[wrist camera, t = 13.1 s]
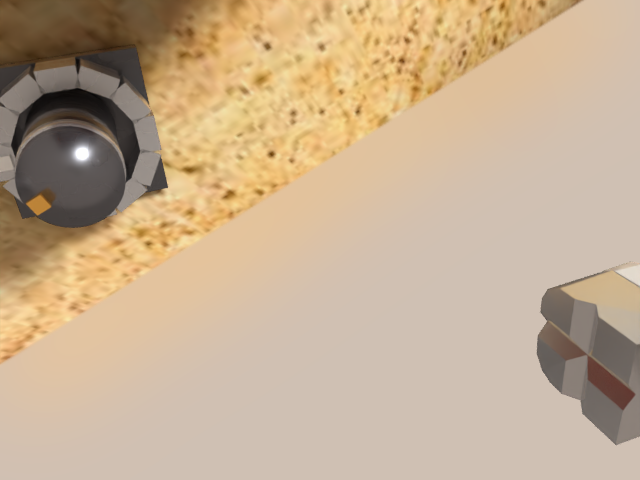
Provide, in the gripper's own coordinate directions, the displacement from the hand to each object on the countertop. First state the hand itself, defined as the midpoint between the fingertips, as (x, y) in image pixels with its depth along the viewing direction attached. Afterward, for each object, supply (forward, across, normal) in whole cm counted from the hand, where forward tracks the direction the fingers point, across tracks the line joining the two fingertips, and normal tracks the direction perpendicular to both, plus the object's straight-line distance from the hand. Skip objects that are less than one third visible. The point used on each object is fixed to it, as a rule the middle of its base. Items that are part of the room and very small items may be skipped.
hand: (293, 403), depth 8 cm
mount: (+33, +4, +5) cm, 34 cm away
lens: (+32, +4, +5) cm, 33 cm away
